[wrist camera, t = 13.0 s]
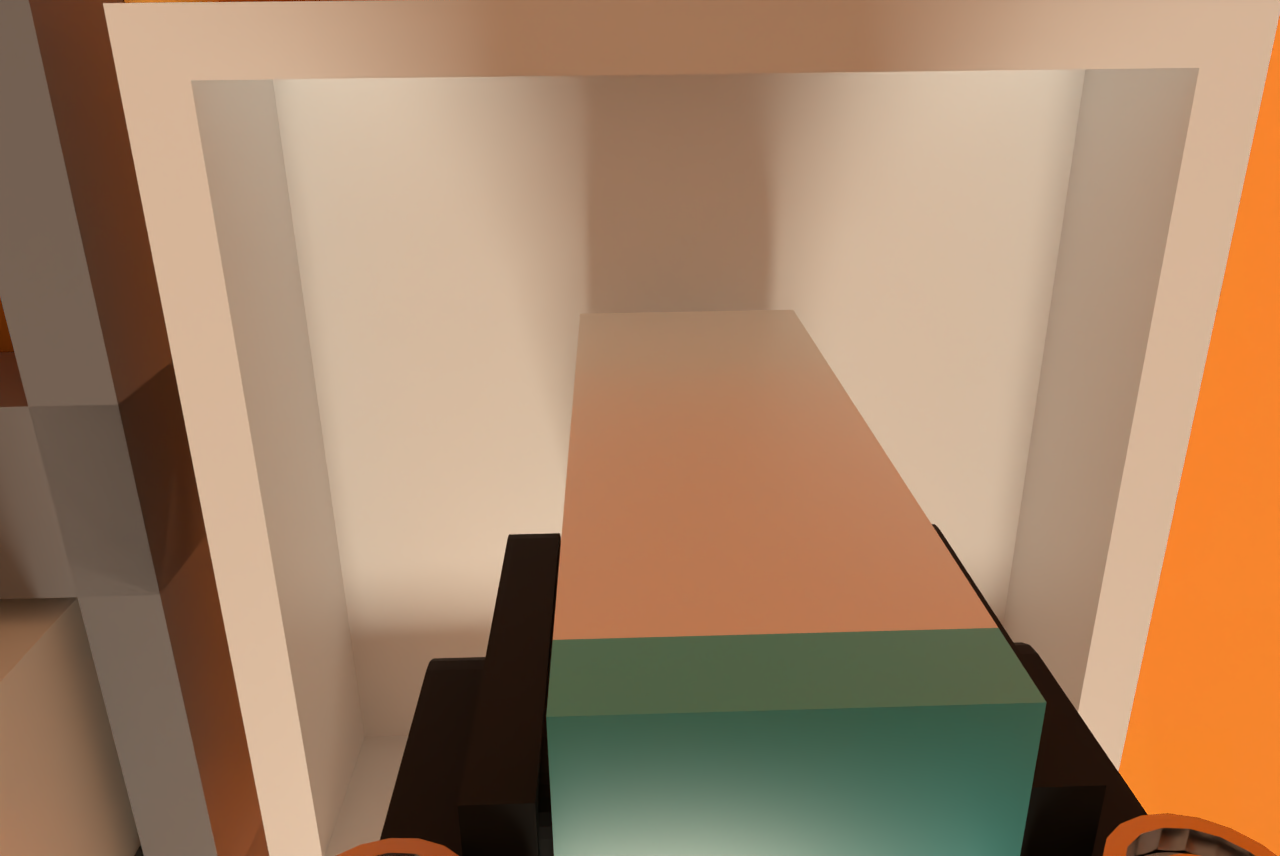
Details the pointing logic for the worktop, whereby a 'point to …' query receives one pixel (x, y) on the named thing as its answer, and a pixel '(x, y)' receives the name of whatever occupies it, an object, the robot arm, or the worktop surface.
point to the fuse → (56, 739)
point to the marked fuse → (764, 618)
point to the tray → (667, 298)
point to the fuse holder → (108, 438)
